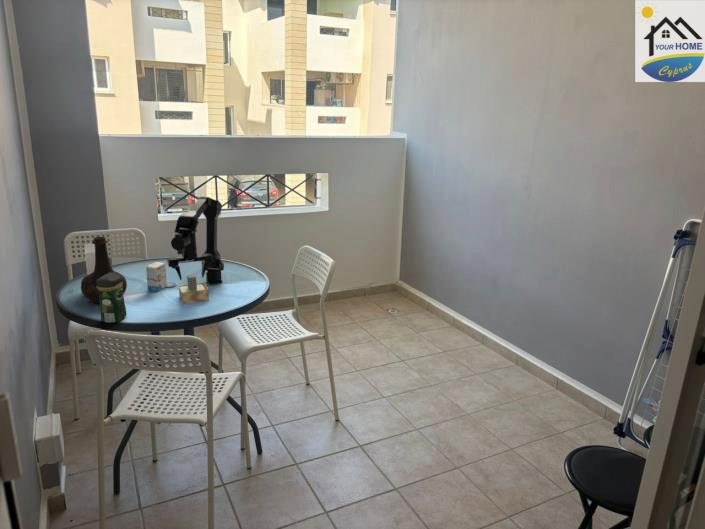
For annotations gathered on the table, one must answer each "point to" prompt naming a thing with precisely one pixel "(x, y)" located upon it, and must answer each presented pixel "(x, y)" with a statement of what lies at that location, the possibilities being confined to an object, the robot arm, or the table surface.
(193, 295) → the oak box
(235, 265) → the table surface
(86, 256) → the milk
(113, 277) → the coffee jar
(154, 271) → the ink box
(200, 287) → the cover plate
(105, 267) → the glass bottle
